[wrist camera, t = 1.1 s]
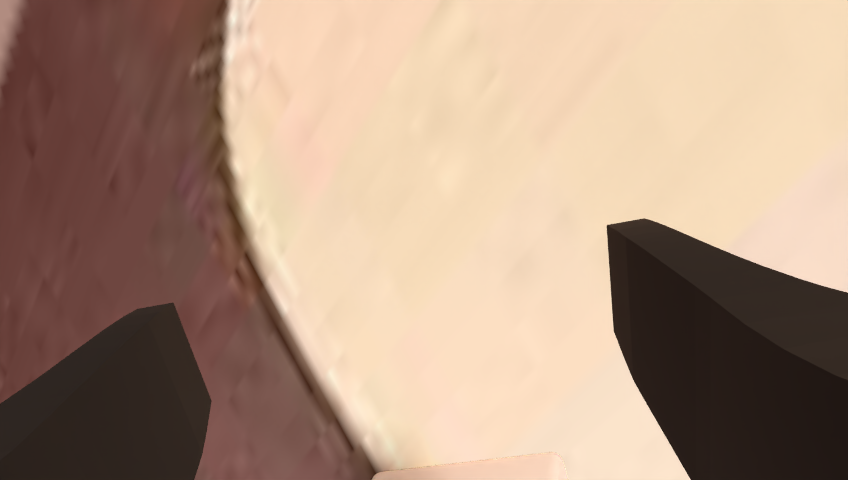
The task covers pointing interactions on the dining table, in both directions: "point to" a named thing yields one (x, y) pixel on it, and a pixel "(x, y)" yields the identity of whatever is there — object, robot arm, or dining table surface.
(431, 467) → the medicine bottle
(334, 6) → the dining table surface
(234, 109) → the dining table surface
